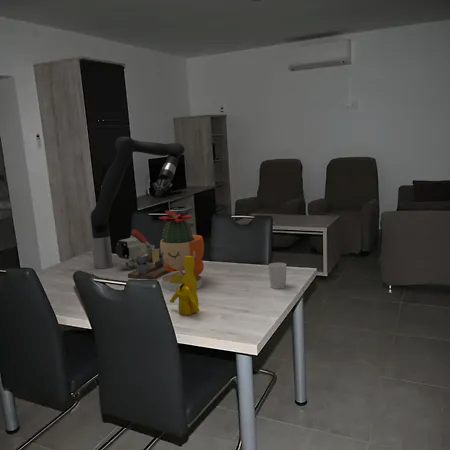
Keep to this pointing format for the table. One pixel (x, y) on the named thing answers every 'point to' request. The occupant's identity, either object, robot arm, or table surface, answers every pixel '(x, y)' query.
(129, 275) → the valve stand base
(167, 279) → the potted cactus
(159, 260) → the valve pipe
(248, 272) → the table surface
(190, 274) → the figure statuette
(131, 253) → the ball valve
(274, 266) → the white cup
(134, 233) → the valve lever
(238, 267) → the table surface
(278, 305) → the table surface
